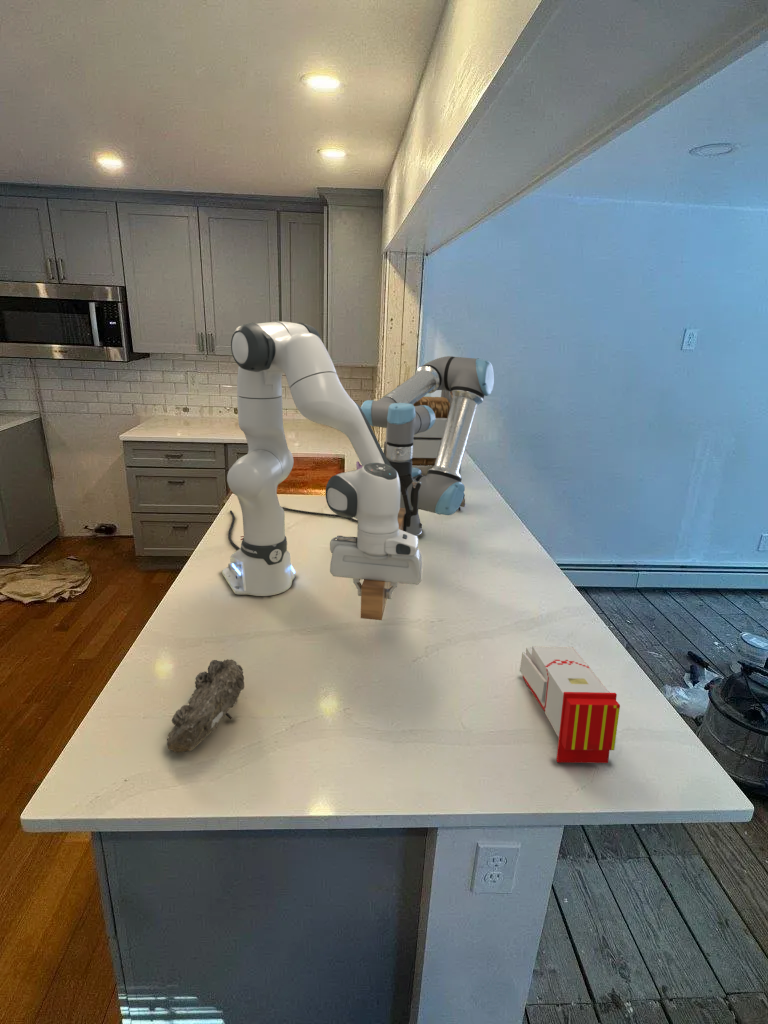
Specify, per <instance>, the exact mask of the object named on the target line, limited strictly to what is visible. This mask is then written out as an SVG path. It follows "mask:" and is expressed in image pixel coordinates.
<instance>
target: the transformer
mask: <svg viewBox="0 0 768 1024" xmlns="http://www.w3.org/2000/svg"><path fill="white" fill-rule="evenodd" d="M399 385H400V384H398V385H397V386H396V388H397V387H398V386H399ZM440 393H441V394H440V396H424V397H422V398H421V399H420V400H418V401H417V402H416V403H414V404H413V405H414V406H419V405H426V406H429V407H430V408H431V409H432V410H433V411H434V414H435V423H434V425H433V426H432V427H431V428H430V429H428V430H427V431H425V432H421V433H418V434H415V435H414V440H413V458H412V459H411V460H412V467H417V466H418V467H433V466H434V465H435V461H436V457H437V454H438V450H439V446H440V443H441V439H442V435H443V432H444V428H445V425H446V421H447V417H448V414H449V410H450V406H451V403H452V398H451V396H450V391H446V390H441V392H440ZM386 446H387V428H385V438H384V442H383V453H384V455H385V457H386ZM386 458H387V457H386ZM387 459H388V458H387ZM461 472H462V465H461V466H460V470H459V474H460V475H461Z"/></svg>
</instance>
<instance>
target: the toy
mask: <svg viewBox="0 0 768 1024" xmlns="http://www.w3.org/2000/svg"><path fill="white" fill-rule="evenodd" d="M525 649H526V650H525V652H522V653H521V660H520V666H519V672H520V673H521V675H522V679H523V680H524V682H525V684H526V686H527V687H528V689H529V690H530V692H531V693H532V695H533V697H534V698H535V700H536V701H537V703H538V705H540V707H541V709H542V710H543V712H544V713H545V716H546V718H547V720H548V721H549V723H550V725H551V727H552V729H553V730H554V732H555V734H556V736H557V737H558V742H557V751H556V759H555V760H556V762H557V763H575V764H576V763H577V764H578V763H579V764H581V763H583V764H585V763H586V764H592V763H593V764H608V763H609V756H610V751H615V747H616V739H617V731H618V726H619V725H618V723H619V718H620V717H619V716H620V711H621V710H620V709H621V705H620V703H619V702H618V701H617V696H618V694H617V693H616V692H610V691H609V690H608V688H607V687H606V686H605V685H604V683H603V682H602V681H601V679H600V678H599V677H598V676H597V675H596V674H595V672H594V671H593V670H592V669H591V668H590V665H588V664H587V662H586V661H585V660H584V659H583V657H582V656H581V654H579V652H578V651H577V650H576V649H575V647H574V646H545V645H544V646H543V645H542V646H540V645H535V646H534V645H532V646H531V647H530V646H526V648H525Z"/></svg>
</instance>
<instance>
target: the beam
mask: <svg viewBox="0 0 768 1024" xmlns="http://www.w3.org/2000/svg"><path fill="white" fill-rule="evenodd" d="M405 514H406V510H405V508H400V510H399V513H398V518H397V519H398V524H399V529H400V530H402V531H403V526H404V516H405ZM361 585H362V586H361V596H360V619H364V620H375V621H383V618H384V613H385V609H386V606H387V601H388V599H385V591H386V589H390V587H391V582H385V581H375V580H365V579H363V581H362V582H361Z"/></svg>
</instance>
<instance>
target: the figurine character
mask: <svg viewBox="0 0 768 1024" xmlns="http://www.w3.org/2000/svg"><path fill="white" fill-rule="evenodd" d="M465 496H466V494H465V493H464V497H463V500H462V503H461V505H460V507H459V508H458V511H461V510H462V509H461V508H465V505H466V497H465Z"/></svg>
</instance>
